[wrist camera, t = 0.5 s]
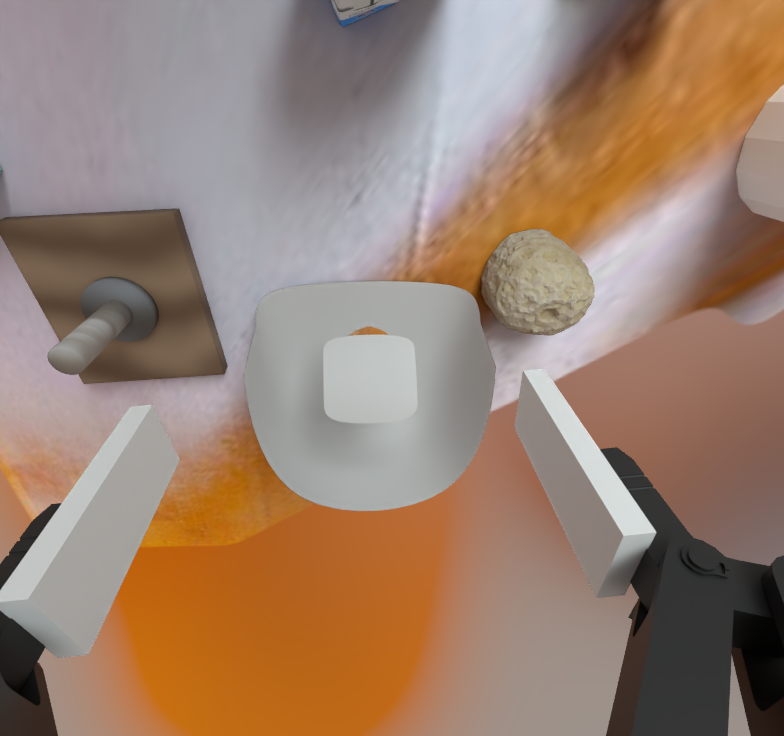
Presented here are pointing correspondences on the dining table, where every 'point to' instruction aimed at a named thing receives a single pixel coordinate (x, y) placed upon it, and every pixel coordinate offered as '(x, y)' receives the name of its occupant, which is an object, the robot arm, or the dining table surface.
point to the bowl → (369, 390)
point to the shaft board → (118, 294)
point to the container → (764, 161)
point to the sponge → (536, 283)
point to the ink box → (357, 9)
